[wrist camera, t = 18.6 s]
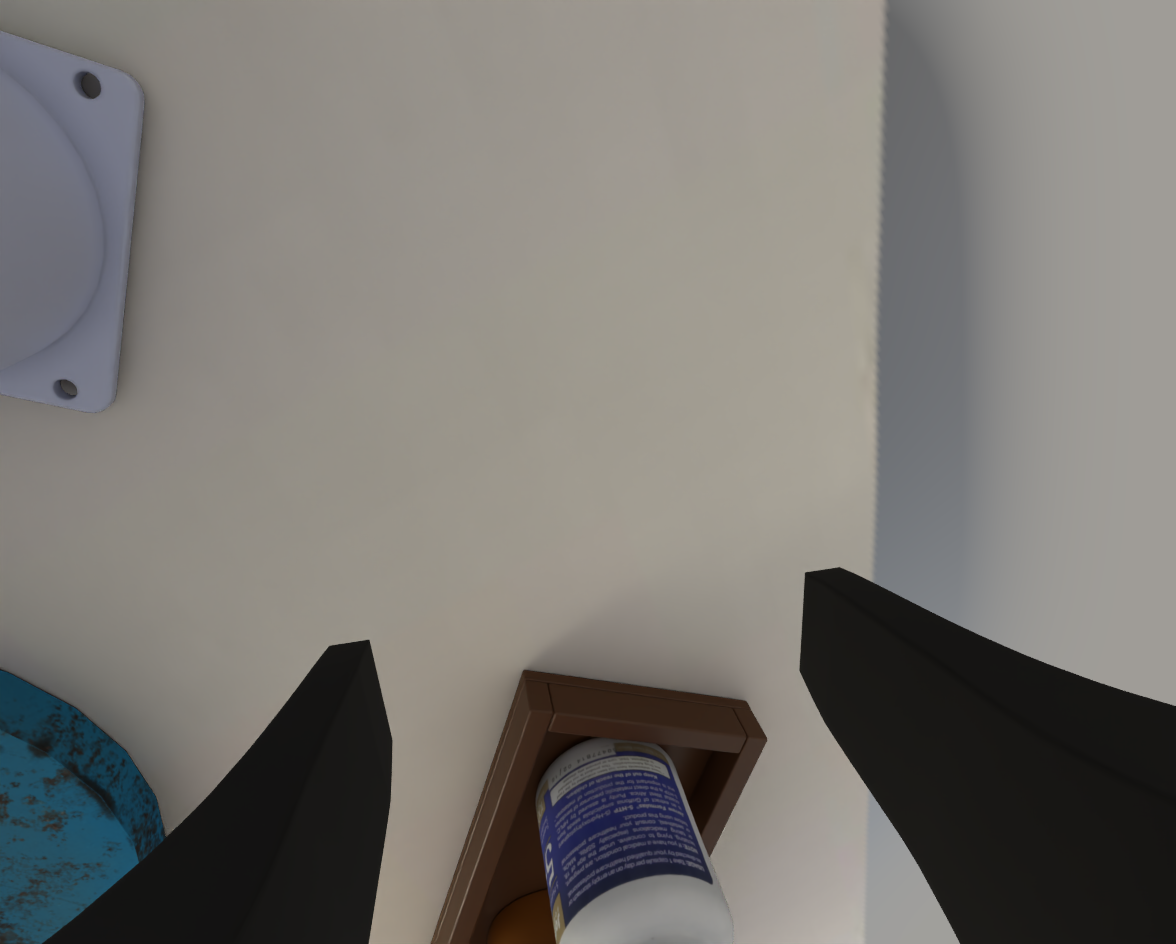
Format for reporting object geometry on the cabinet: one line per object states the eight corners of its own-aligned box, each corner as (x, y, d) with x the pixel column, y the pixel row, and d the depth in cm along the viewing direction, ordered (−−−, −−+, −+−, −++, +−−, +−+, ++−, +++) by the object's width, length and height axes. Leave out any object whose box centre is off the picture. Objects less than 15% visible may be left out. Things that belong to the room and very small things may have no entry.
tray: (377, 1099, 32) (373, 1155, 31) (523, 669, 25) (529, 710, 23) (561, 1093, 35) (568, 1144, 33) (746, 700, 27) (768, 739, 25)
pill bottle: (505, 779, 26) (536, 1062, 18) (634, 704, 26) (724, 958, 18) (579, 860, 28) (636, 1142, 20) (697, 792, 28) (803, 1050, 20)
